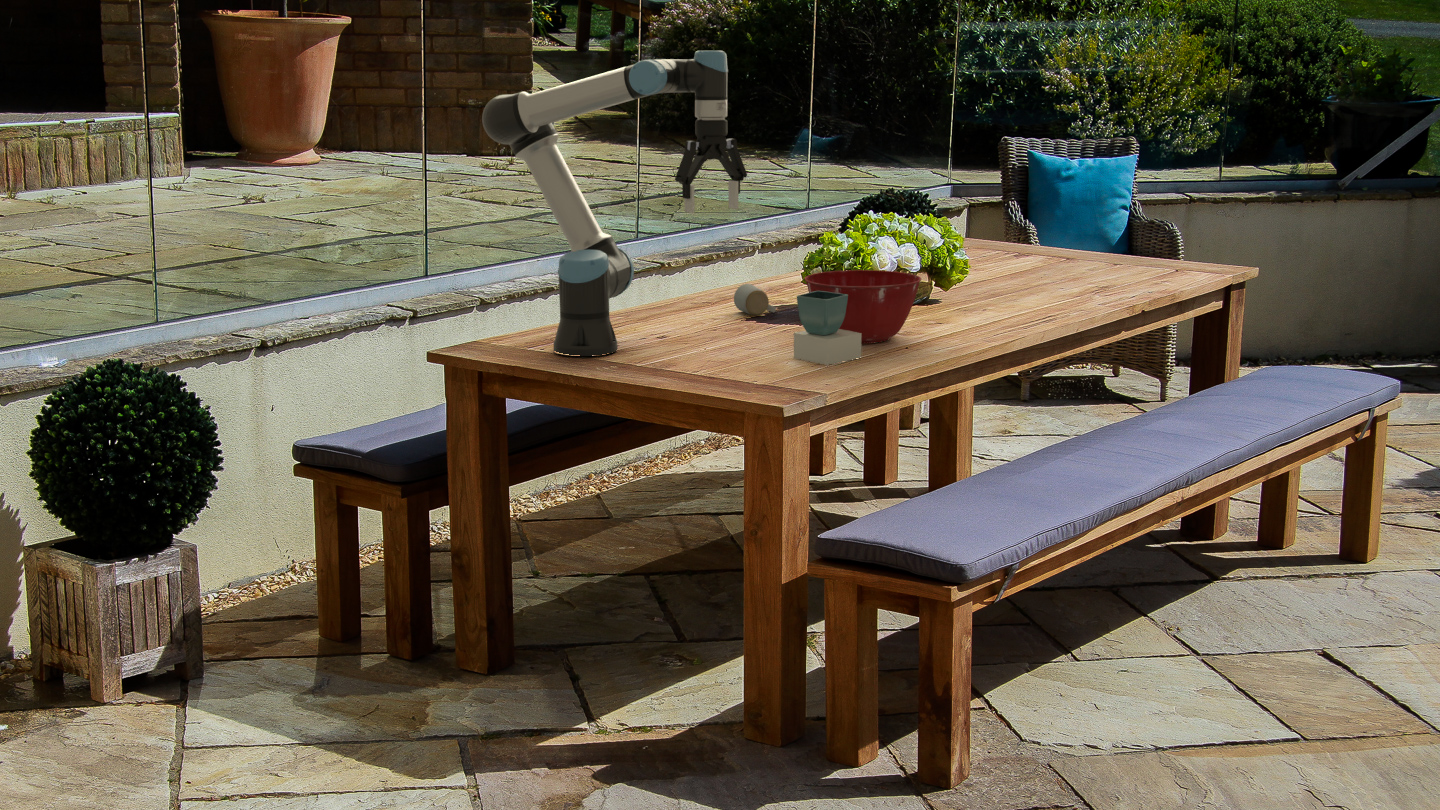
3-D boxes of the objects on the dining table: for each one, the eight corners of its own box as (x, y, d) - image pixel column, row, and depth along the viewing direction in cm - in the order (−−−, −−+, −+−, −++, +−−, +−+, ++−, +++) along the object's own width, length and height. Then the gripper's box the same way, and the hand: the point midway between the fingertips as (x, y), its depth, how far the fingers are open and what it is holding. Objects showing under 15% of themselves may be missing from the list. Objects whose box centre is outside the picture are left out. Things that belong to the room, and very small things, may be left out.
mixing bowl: (786, 332, 366) (786, 272, 362) (887, 324, 375) (888, 265, 372) (833, 354, 340) (834, 289, 336) (940, 345, 350) (942, 281, 346)
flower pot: (826, 338, 327) (827, 299, 325) (795, 334, 332) (795, 295, 330) (848, 332, 334) (849, 294, 331) (817, 328, 339) (817, 290, 337)
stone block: (827, 365, 327) (827, 339, 326) (793, 357, 335) (793, 332, 334) (861, 358, 334) (861, 333, 333) (827, 351, 342) (827, 326, 341)
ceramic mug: (746, 317, 387) (746, 288, 385) (733, 312, 394) (733, 284, 392) (781, 314, 391) (782, 286, 389) (767, 310, 398) (768, 282, 397)
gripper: (680, 121, 325) (681, 215, 330) (761, 117, 341) (761, 207, 346) (659, 120, 330) (660, 213, 335) (740, 116, 346) (740, 205, 351)
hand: (711, 210), depth 341 cm, fingers open, 13 cm apart
